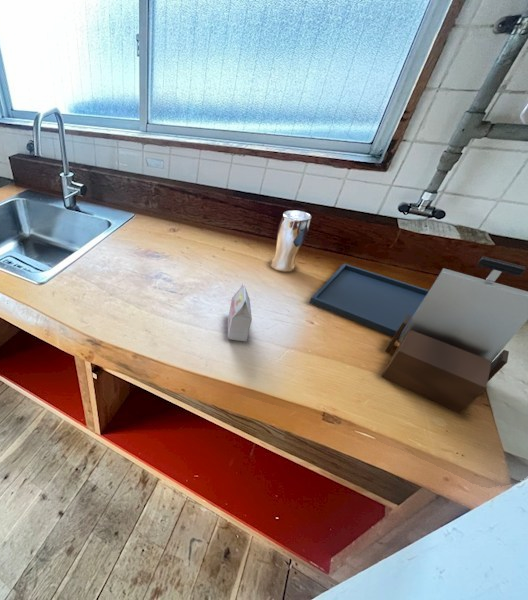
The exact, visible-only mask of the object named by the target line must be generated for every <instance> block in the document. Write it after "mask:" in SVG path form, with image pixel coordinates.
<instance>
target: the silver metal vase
mask: <svg viewBox="0 0 528 600" xmlns="http://www.w3.org/2000/svg"><path fill="white" fill-rule="evenodd" d="M311 221H312V215H311V214H310V213H309V212H306V211H304V210H295V209H291V210H286V211H284V212H283V213H282V216H281V219H280V222H279V224H278V229H277V234H276V245H275V246H276V247H275V253H274V255H273V258H272V260H271V262H270V266H271V267H272V268H273V270H276V271H279V272H283V273H284V272H292V271H293V270H294V269H295V266H296V265H295V264H296V259H297V255H298V253H299V251H300V249H301V248H302V246H303V245H304V242H305V240H306V238H307V235H308V232H309V229H310V226H311Z"/></svg>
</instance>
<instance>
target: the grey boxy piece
mask: <svg viewBox="0 0 528 600" xmlns="http://www.w3.org/2000/svg"><path fill="white" fill-rule="evenodd" d="M252 321H253V317H252V307H251V299H250V296H249V294H248V291H247V288H246V284H245V283H242V285H241V286H240V288H239V289H238V290H237V291H236V293H234V295H233V296H232V297H231V301H230V306H229V312H228V316H227V340H232V341H239V342H247V340H248V337H249V333H250V328H251V326H252Z"/></svg>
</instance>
